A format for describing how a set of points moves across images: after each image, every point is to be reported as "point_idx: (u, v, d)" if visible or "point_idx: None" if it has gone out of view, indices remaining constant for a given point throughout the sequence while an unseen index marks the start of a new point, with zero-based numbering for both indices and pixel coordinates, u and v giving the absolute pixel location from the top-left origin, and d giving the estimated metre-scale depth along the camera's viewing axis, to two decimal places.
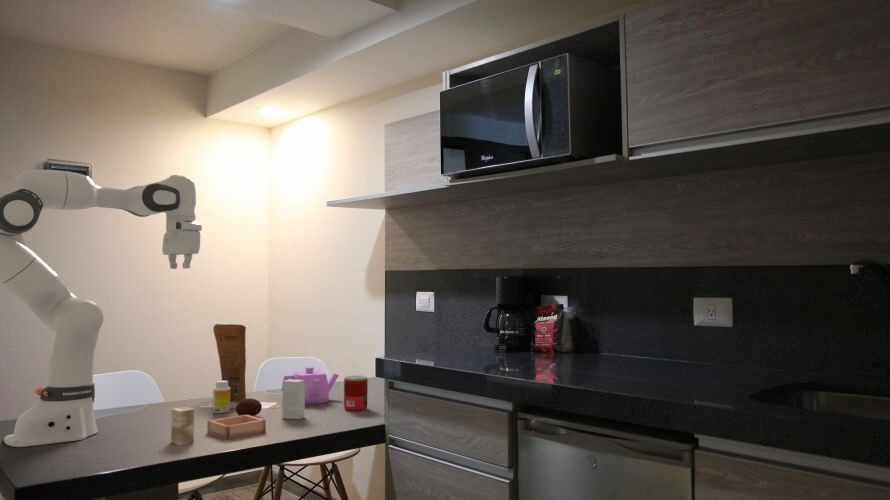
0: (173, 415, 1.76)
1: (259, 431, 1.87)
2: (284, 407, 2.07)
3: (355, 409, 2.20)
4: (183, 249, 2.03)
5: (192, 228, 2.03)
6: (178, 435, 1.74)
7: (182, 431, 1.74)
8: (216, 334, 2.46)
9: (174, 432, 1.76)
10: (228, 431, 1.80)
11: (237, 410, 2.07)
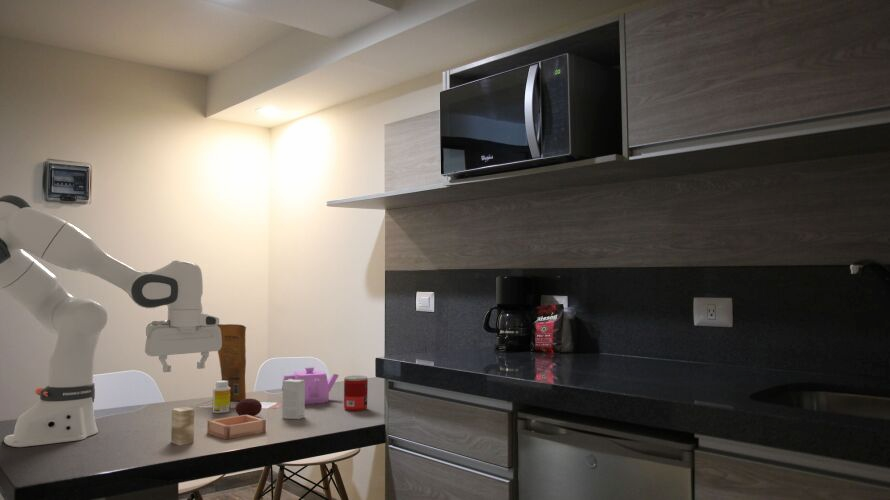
0: (173, 415, 1.76)
1: (259, 431, 1.87)
2: (284, 407, 2.07)
3: (355, 409, 2.20)
4: (210, 346, 1.81)
5: None
6: (178, 435, 1.74)
7: (183, 431, 1.74)
8: None
9: (174, 432, 1.76)
10: (228, 431, 1.80)
11: (237, 410, 2.07)
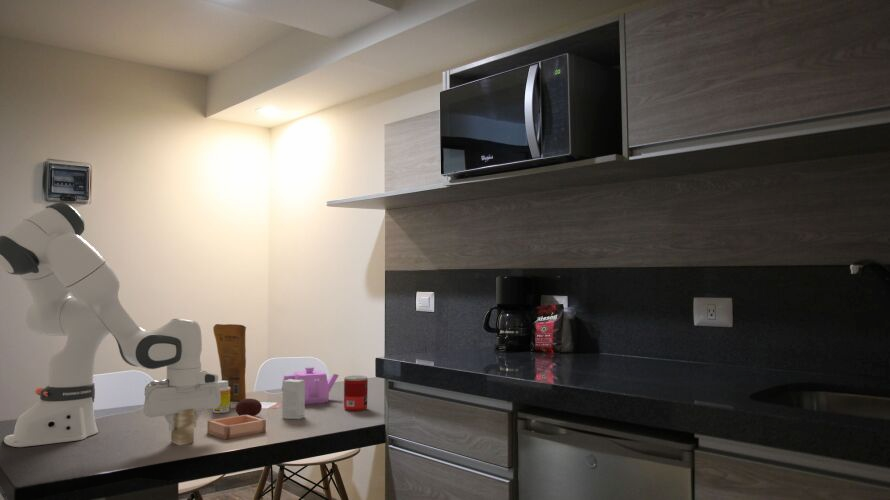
0: (173, 415, 1.76)
1: (259, 431, 1.87)
2: (284, 407, 2.07)
3: (355, 409, 2.20)
4: (209, 404, 1.81)
5: None
6: (178, 435, 1.74)
7: (183, 431, 1.74)
8: (216, 334, 2.46)
9: (174, 432, 1.76)
10: (228, 431, 1.80)
11: (237, 410, 2.07)
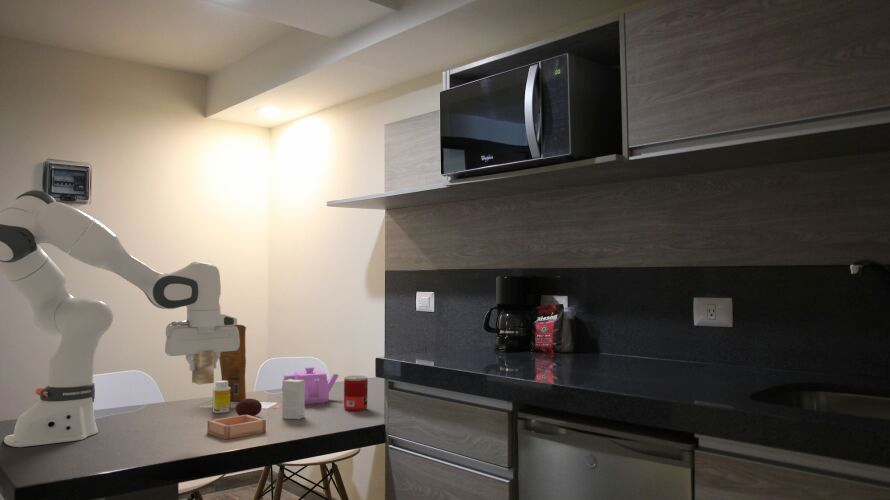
0: None
1: (259, 431, 1.87)
2: (284, 407, 2.07)
3: (355, 409, 2.20)
4: (228, 346, 1.84)
5: None
6: (198, 375, 1.78)
7: (203, 371, 1.78)
8: None
9: (195, 372, 1.80)
10: (228, 431, 1.80)
11: (237, 410, 2.07)
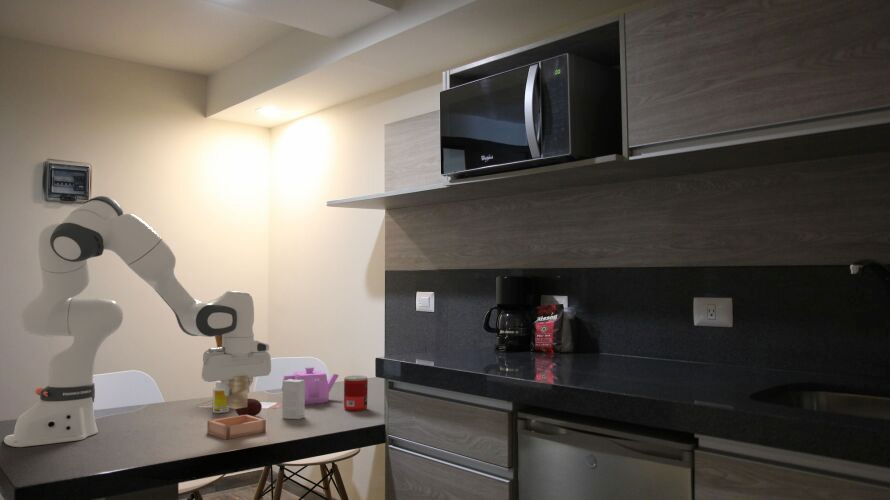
0: None
1: (259, 431, 1.87)
2: (284, 407, 2.07)
3: (355, 409, 2.20)
4: (261, 371, 1.92)
5: None
6: (233, 399, 1.85)
7: (237, 396, 1.86)
8: None
9: (229, 397, 1.87)
10: (228, 431, 1.80)
11: (237, 410, 2.07)
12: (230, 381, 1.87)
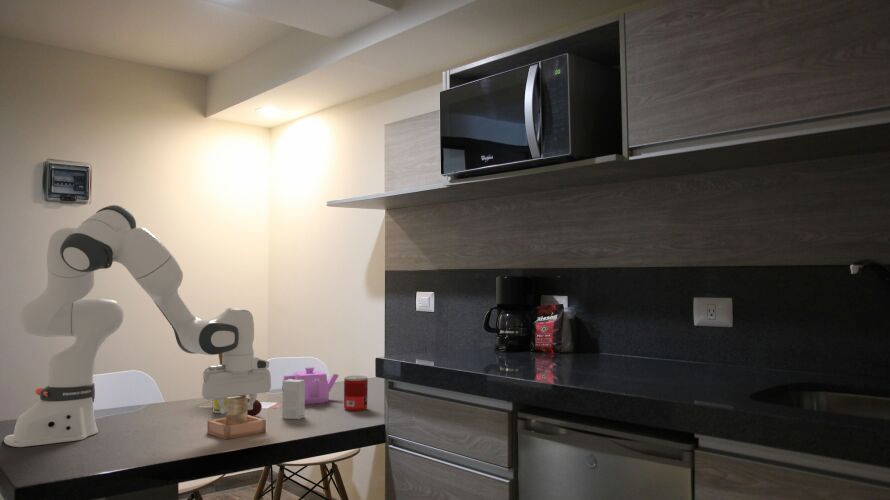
0: (228, 403, 1.88)
1: (259, 431, 1.87)
2: (284, 407, 2.07)
3: (355, 409, 2.20)
4: (261, 388, 1.92)
5: None
6: (233, 422, 1.85)
7: (237, 418, 1.86)
8: None
9: (229, 419, 1.87)
10: (228, 431, 1.80)
11: None
12: (230, 403, 1.87)
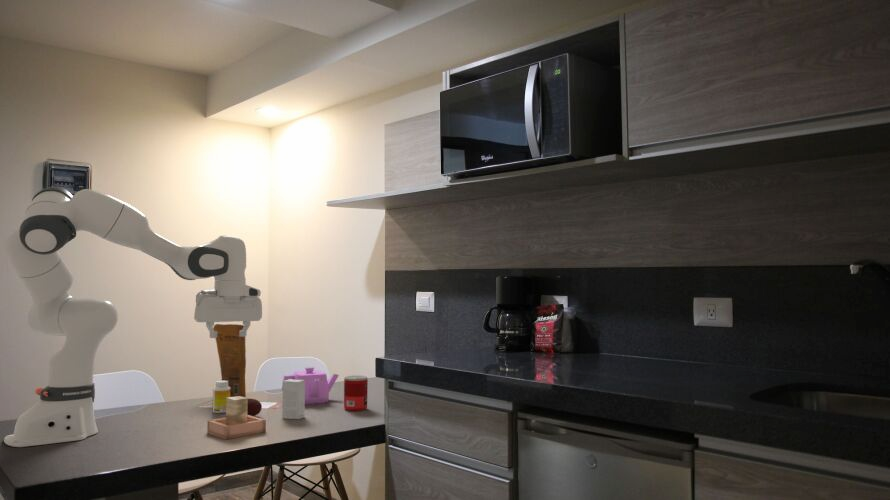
0: (228, 403, 1.88)
1: (259, 431, 1.87)
2: (284, 407, 2.07)
3: (355, 409, 2.20)
4: (252, 316, 1.96)
5: None
6: (233, 422, 1.85)
7: (237, 418, 1.86)
8: None
9: (229, 419, 1.87)
10: (228, 431, 1.80)
11: None
12: (230, 403, 1.87)
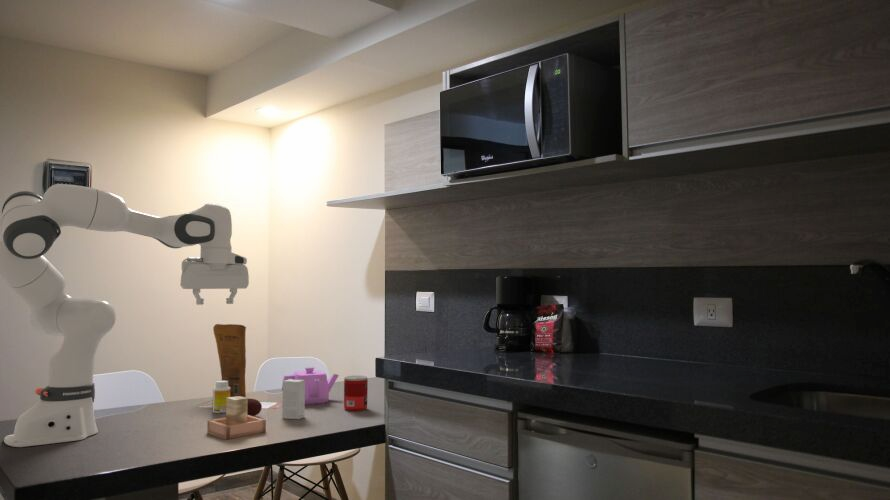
0: (228, 403, 1.88)
1: (259, 431, 1.87)
2: (284, 407, 2.07)
3: (355, 409, 2.20)
4: (238, 283, 1.98)
5: None
6: (233, 422, 1.85)
7: (237, 418, 1.86)
8: (216, 334, 2.46)
9: (229, 419, 1.87)
10: (228, 431, 1.80)
11: None
12: (230, 403, 1.87)
